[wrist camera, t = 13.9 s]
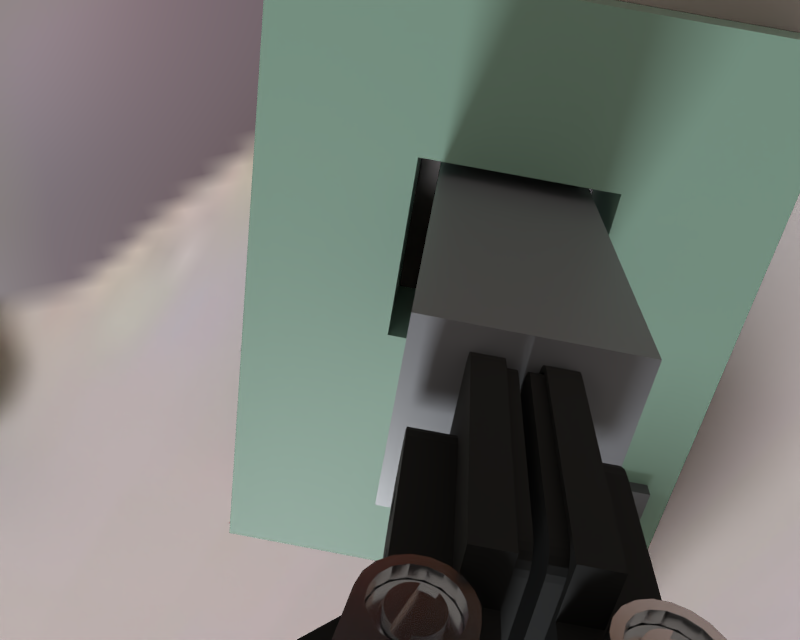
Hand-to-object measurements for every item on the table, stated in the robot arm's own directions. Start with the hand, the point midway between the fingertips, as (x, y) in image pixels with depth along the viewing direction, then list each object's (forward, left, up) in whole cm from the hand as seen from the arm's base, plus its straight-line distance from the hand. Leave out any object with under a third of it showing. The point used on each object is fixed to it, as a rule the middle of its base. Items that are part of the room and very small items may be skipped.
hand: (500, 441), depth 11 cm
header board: (0, +2, -10) cm, 10 cm away
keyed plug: (0, 0, -10) cm, 10 cm away
